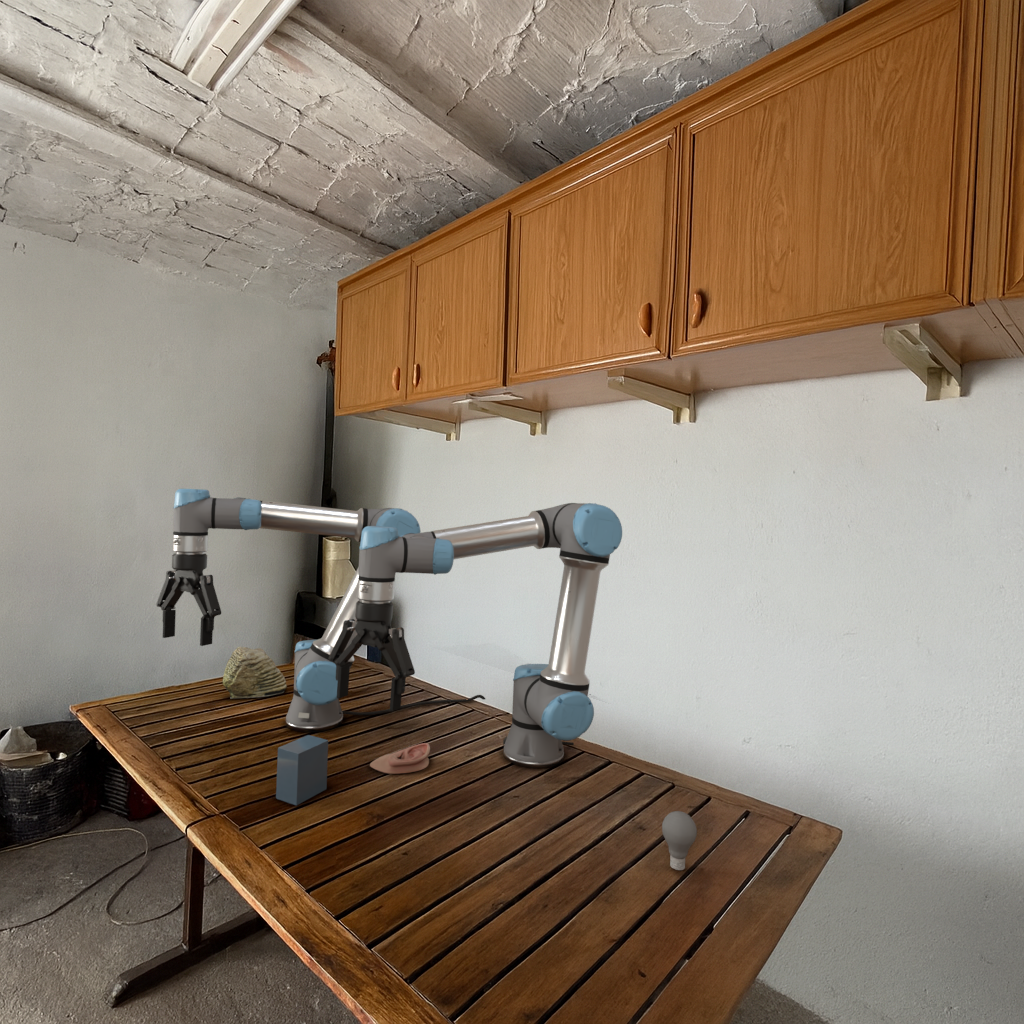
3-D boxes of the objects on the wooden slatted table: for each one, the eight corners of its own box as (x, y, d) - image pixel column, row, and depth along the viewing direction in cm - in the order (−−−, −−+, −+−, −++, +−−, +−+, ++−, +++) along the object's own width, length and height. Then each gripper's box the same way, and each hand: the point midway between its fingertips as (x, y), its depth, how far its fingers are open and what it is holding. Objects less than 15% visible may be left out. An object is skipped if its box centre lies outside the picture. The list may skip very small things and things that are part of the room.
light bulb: (655, 859, 115) (658, 804, 115) (687, 858, 116) (690, 804, 116) (666, 878, 109) (669, 821, 109) (700, 878, 110) (702, 821, 110)
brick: (306, 782, 140) (308, 734, 140) (326, 789, 137) (328, 740, 137) (275, 798, 132) (277, 747, 132) (296, 805, 130) (298, 753, 129)
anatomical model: (364, 753, 147) (384, 735, 158) (364, 770, 147) (383, 751, 158) (419, 760, 144) (435, 742, 155) (418, 778, 144) (434, 758, 156)
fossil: (218, 695, 195) (220, 647, 195) (278, 685, 208) (279, 640, 207) (228, 703, 189) (230, 653, 188) (289, 692, 201) (290, 645, 201)
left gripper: (142, 549, 154) (139, 636, 155) (211, 557, 143) (208, 651, 144) (170, 548, 161) (168, 631, 161) (239, 556, 150) (236, 645, 150)
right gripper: (315, 595, 133) (309, 695, 133) (415, 610, 122) (407, 720, 123) (339, 591, 140) (333, 687, 140) (435, 606, 129) (428, 709, 129)
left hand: (187, 640), depth 153 cm, fingers open, 13 cm apart
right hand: (368, 702), depth 131 cm, fingers open, 13 cm apart
